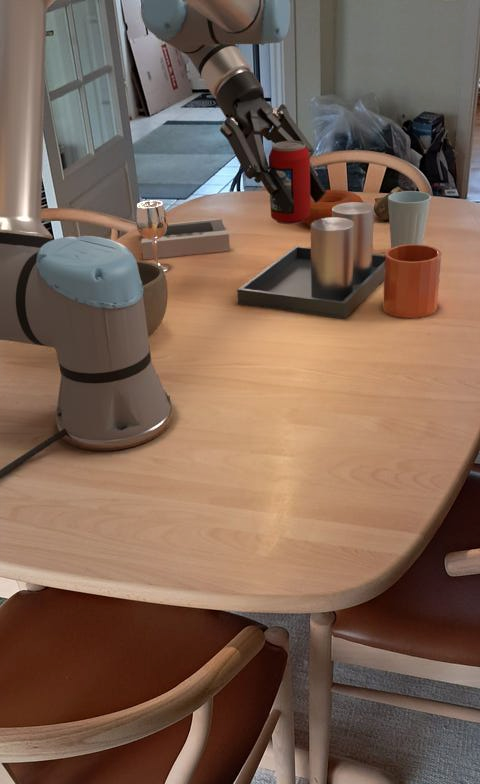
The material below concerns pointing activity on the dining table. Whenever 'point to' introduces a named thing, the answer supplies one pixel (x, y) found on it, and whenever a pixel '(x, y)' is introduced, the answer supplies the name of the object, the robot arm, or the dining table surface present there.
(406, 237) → the cup
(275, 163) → the beverage can
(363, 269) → the silver can
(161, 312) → the bowl
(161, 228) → the wineglass
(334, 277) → the silver can
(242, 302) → the tray
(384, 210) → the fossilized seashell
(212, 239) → the rectangular box
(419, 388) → the dining table surface
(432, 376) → the dining table surface
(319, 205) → the donut
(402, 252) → the terracotta mug
